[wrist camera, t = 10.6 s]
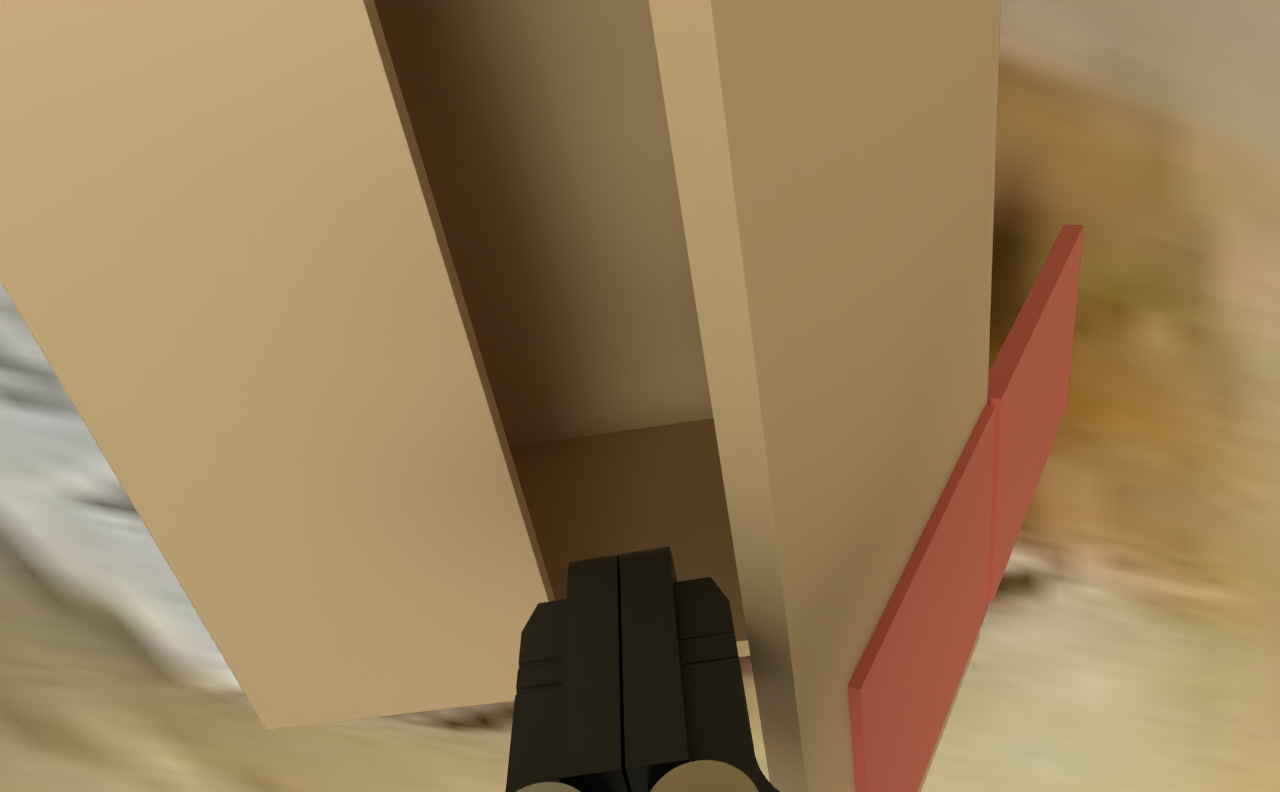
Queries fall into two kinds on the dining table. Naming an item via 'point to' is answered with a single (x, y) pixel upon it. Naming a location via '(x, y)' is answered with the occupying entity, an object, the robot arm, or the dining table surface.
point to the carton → (367, 318)
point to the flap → (859, 357)
